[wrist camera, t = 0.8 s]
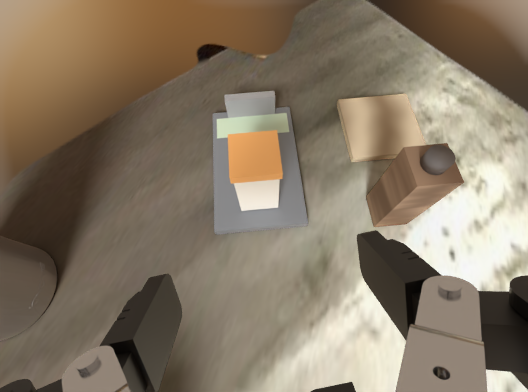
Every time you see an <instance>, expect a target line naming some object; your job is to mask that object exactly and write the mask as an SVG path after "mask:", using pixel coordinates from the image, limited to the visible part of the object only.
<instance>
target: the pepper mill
mask: <svg viewBox="0 0 528 392" xmlns="http://www.w3.org/2000/svg"><path fill="white" fill-rule="evenodd" d="M462 183H464V181H463V179H462V176H461V174H460V172H459V169H458V167H457V165H456V162H455V155H454V153H453V152H452V150H451V149H450V148H449V146H448V144H447V143H444V144H433V145H422V146H411V147H403V149H402V150H401V151H400V153H399V154H398V155H397V157H396V158H395V159H394V161H393V162H392V163H391V165H390V166H389V167H388V169H387V170H386V171H385V173H384V174H383V175H382V176H381V178H380V179H379V180H378V182H377V183H376V184H375V186H374V187H373V188H372V190H371V191H370V192H369V194H368V195H367V196H366V199H367V203H368V207H369V211H370V214H371V218H372V222H373V226H374V227H380V226H391V225H402V224H407V223H409V222H410V221H411V220H413V219H414V218H416V217H417V216H418V215H420V214H421V213H422V212H424V211H425V210H427V209H428V208H429V207H431V206H432V205H434V204H435V203H436V202H438V201H439V200H440V199H442V198H443V197H445V196H446V195H447V194H449V193H450V192H451V191H453V190H454V189H456V188H457V187H458V186H460V185H461V184H462Z"/></svg>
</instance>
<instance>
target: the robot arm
mask: <svg viewBox="0 0 528 392" xmlns="http://www.w3.org/2000/svg"><path fill="white" fill-rule="evenodd" d="M357 243H358V252H359V261H360V268H361V272H362V276H363V278H364V280H365V282H366V283H367V285H368V286H369V288H370V289H371V291H372V292H373V294H374V295H375V296H376V298H377V299H378V301H379V302H380V304H381V305H382V307H383V308H384V309H385V311H386V312H387V314H388V315H389V317H390V318H391V320H392V321H393V322H394V324H395V325H396V327H397V328H398V330H399V331H400V332H401V334H402V335H403V337H404V338H405V340H406V345H405V350H404V354H403V359H402V364H401V368H400V373H399V378H398V382H397V387H396V392H487V381H486V369H488V370H498V371H509V372H512V373H513V374H514V375H515V376H516V378H517V379H518V380H519V381H520V382H521V383H522V384H523V385H524V386H525V387H526V388H527V389H528V276H520V277H516V278H514V279H513V280H512V281H511V282H510V289H509V292H492V291H478V290H477V289H476V288H475V287H474V286H473V285H472V284H471V283H469V282H467V281H465V280H463V279H460V278H457V277H452V276H442V275H441V274H439V273H438V272H437V271H436V270H435V269H433V268H432V267H431V266H430V265H429V264H428V263H426V262H425V261H424V260H423V259H422V258H419V256H418V255H417V254H416V253H414V252H412V250H411V249H410V248H408V247H407V246H406V245H405V244H403V243H401V242H398V241H396V240H393V239H391V240H386V239H385V238H384V237H383V236H382V235H381V234H380V233H379V232H378V231H376V230H375V231H370V232H366V233H361V234H358V235H357ZM56 283H57V271H56V266H55V264H54V261H53V259H52V258H51V257H50V255H49V254H48V253H46V252H45V251H43V250H42V249H39V248H36V247H33V246H30V245H27V244H24V243H21V242H18V241H14V240H11V239H9V238H6V237H2V236H0V341H2V340H5V339H9V338H12V337H14V336H16V335H18V334H20V333H22V332H23V331H25V330H26V329H27V328H29V327H30V326H31V325H33V324H34V323H35V322H36V321H37V320H38V319H39V318H40V317H41V315H42V314H43V313H44V311H45V310H46V308H47V307H48V305H49V303H50V301H51V299H52V297H53V295H54V292H55V288H56ZM181 319H182V308H181V304H180V301H179V298H178V295H177V292H176V289H175V286H174V284H173V281H172V278H171V276H170V275H169V274H164V275H159V276H154V277H150V278H149V279H148V280H147V282H146V284H145V285H144V287H143V289H142V290H141V292H138V293H137V294H135V295H134V296H133V297H132V298H131V299H130V300H129V301H128V302H127V304H126V305H125V307H124V308H123V310H122V313H120V315H119V316H118V318H117V321H115V322H114V324H113V326H112V327H111V329H110V330H109V332H108V333H107V335H106V337H105V338H104V340H103V341H102V343H101V344H100V346H99V347H96V348H93V349H91V350H89V351H87V352H85V353H84V354H82V355H81V356H79V357H78V358H77V359H76V360H74V361H73V362H72V363H71V364H70V365H69V367H68V368H67V369H66V371H65V372H64V374H63V376H62V379H60V380H58V381H56V382H53V383H51V384H49V385H47V386H44V387H42V388H40V389H38V390H36V389H35V387H34V386H33V384H32V382H31V381H30V380H28V379H22V380H17V381H14V382H12V383H10V384H8V385H6V386H4V387H2V388H0V392H158V391H159V388H160V384H161V381H162V378H163V375H164V372H165V369H166V366H167V363H168V360H169V356H170V353H171V350H172V347H173V344H174V341H175V338H176V335H177V332H178V329H179V325H180V322H181ZM311 392H356V391H355V388H354V386H353V383H352V382H349V383H344V384H339V385H334V386H330V387H325V388H320V389H315V390H313V391H311Z"/></svg>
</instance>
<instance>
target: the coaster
mask: <svg viewBox="0 0 528 392" xmlns="http://www.w3.org/2000/svg"><path fill="white" fill-rule="evenodd" d="M337 108H338V112H339V116H340V120H341V124H342V128H343V132H344V136H345V140H346V144H347V148H348V152H349V156H350V160H351V162H360V161H371V160H382V159H393V158H396V157H397V155H398V154H399V153H400V151H401V150H402V149H403V147H411V146H422V145H426V143H425V140H424V138H423V135H422V133H421V130H420V128H419V125H418V123H417V120H416V117H415V115H414V112H413V110H412V107H411V105H410V102H409V100H408V97H407V95H406V94H396V95H385V96H373V97H362V98H350V99H339V100H338V102H337Z"/></svg>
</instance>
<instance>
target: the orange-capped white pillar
mask: <svg viewBox="0 0 528 392" xmlns="http://www.w3.org/2000/svg"><path fill="white" fill-rule="evenodd" d="M228 156H229V178H230V182H231V184H232V183H234V186H235V189H236V193H237V197H238V200H239V204H240V207H241V211H247V210H258V209H269V208H278V201H279V183H280V179H282V177H283V171H282V164H281V156H280V148H279V141H278V133H277V130H271V131H260V132H249V133H237V134H228Z"/></svg>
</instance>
